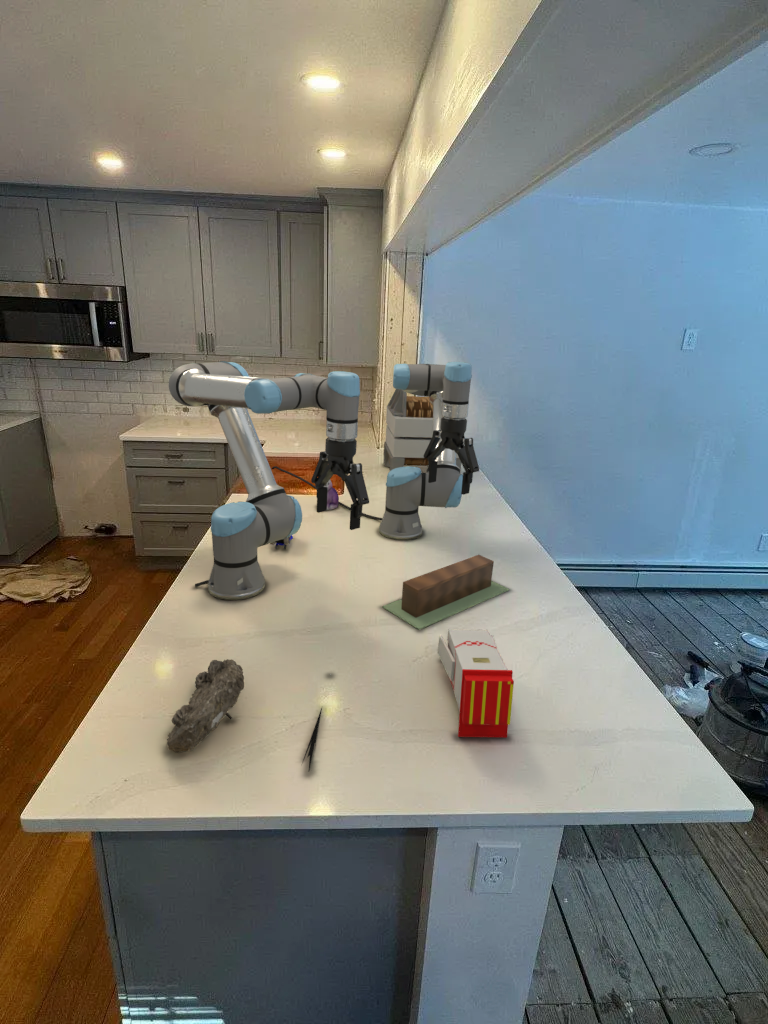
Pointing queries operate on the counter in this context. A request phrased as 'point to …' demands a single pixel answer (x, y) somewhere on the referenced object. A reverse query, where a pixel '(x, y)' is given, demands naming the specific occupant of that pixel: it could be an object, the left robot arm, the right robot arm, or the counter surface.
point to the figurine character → (282, 542)
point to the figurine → (331, 496)
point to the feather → (313, 740)
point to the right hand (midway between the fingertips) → (448, 487)
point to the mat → (445, 607)
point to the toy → (478, 682)
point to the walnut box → (446, 585)
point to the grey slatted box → (408, 431)
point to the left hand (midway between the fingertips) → (337, 519)
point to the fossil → (206, 705)
